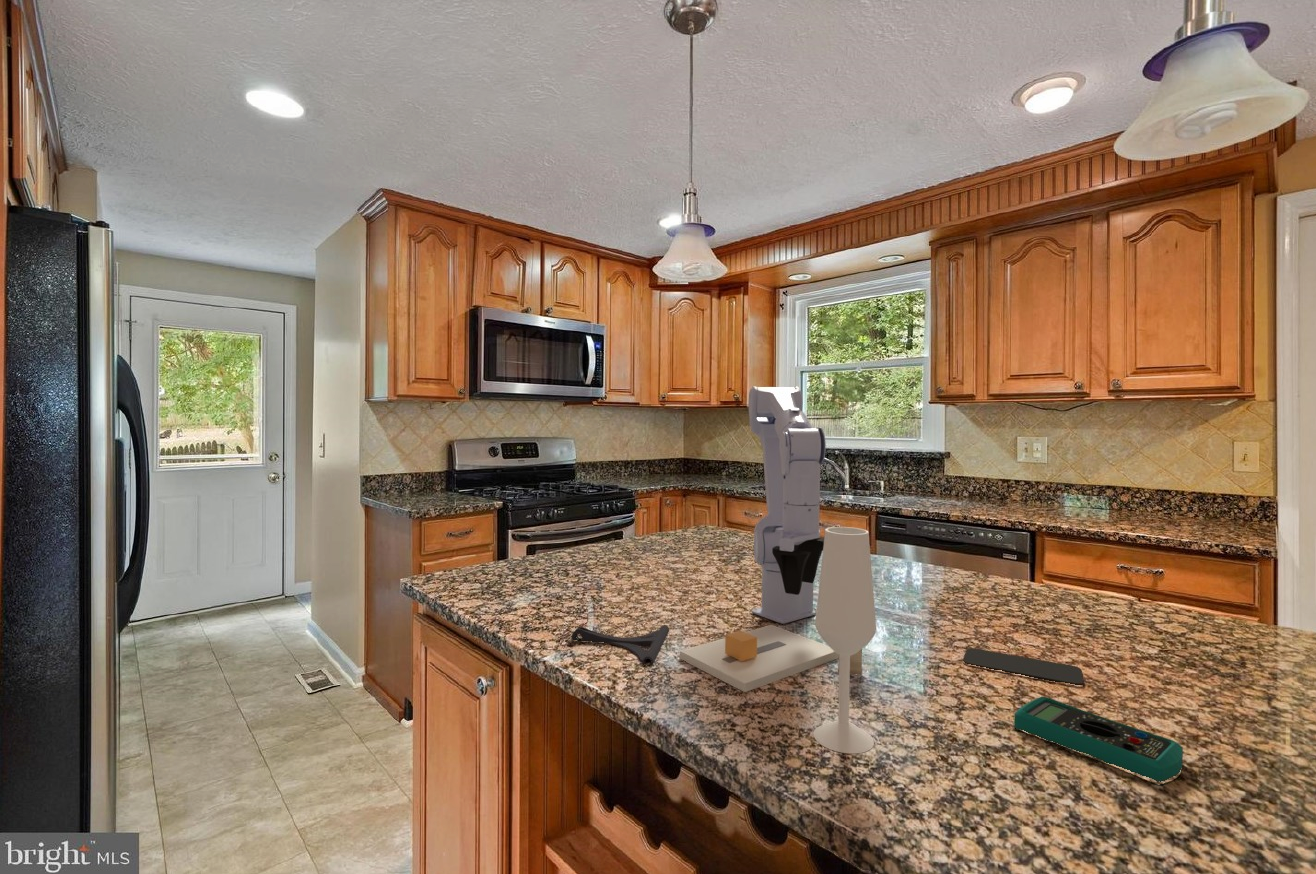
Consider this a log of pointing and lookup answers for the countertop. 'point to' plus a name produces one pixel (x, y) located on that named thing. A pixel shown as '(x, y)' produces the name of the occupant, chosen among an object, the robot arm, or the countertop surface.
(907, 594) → the countertop surface
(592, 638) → the bracket
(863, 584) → the champagne flute
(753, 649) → the block
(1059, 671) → the phone
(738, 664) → the switch panel
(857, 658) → the tall stone pillar
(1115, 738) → the digital multimeter
